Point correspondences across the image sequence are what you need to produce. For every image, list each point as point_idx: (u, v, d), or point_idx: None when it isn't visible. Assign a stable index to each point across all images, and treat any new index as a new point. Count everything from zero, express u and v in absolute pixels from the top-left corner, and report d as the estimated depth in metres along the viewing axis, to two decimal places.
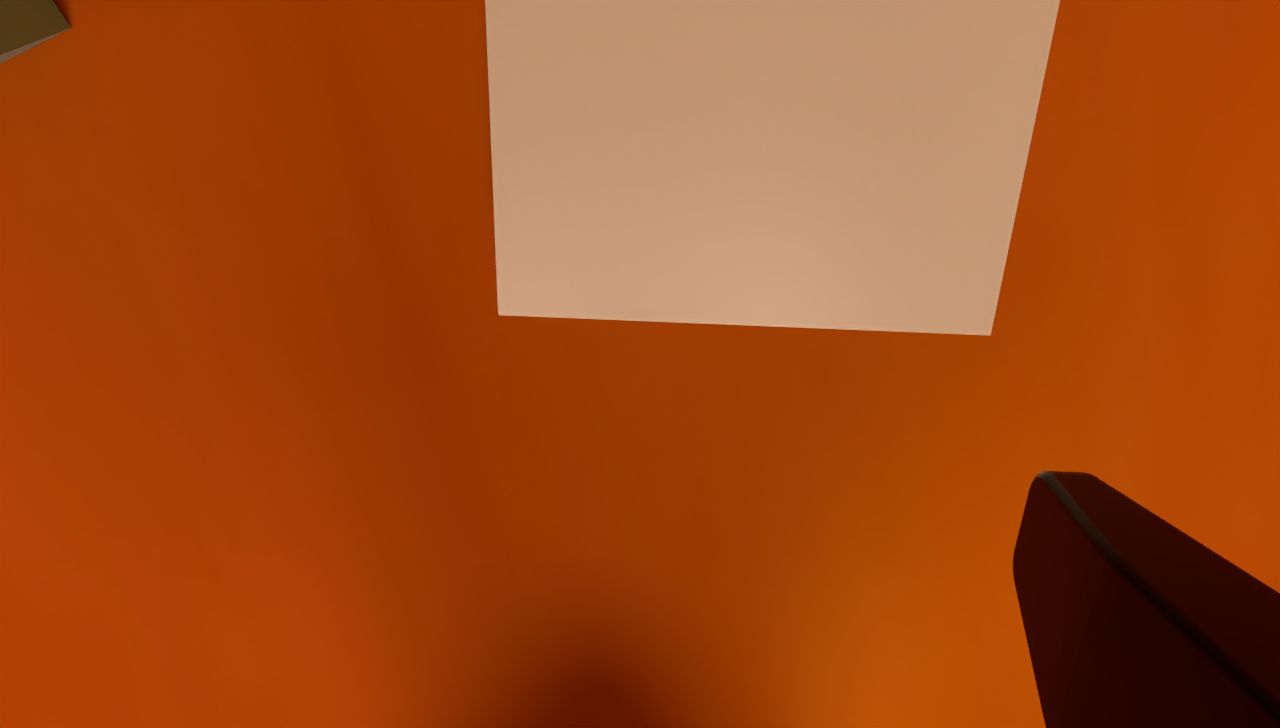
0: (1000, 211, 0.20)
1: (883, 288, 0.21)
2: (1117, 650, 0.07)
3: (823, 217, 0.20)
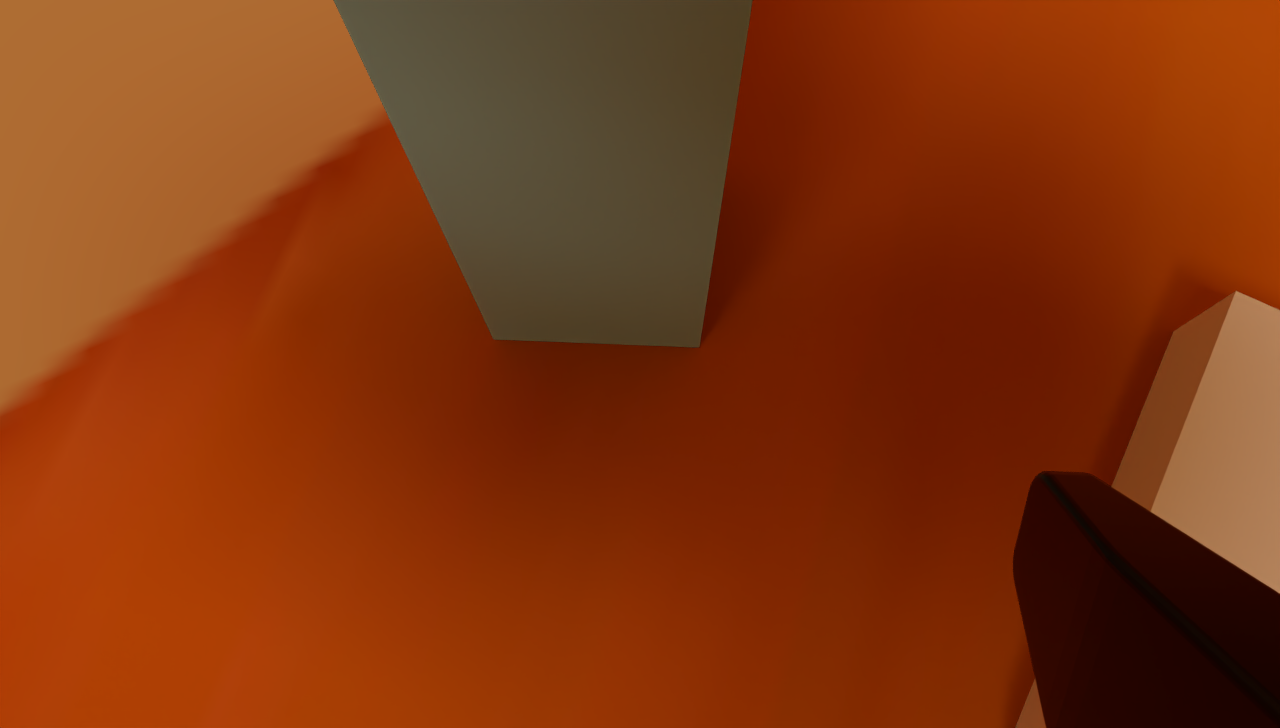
0: None
1: None
2: (1117, 650, 0.07)
3: None
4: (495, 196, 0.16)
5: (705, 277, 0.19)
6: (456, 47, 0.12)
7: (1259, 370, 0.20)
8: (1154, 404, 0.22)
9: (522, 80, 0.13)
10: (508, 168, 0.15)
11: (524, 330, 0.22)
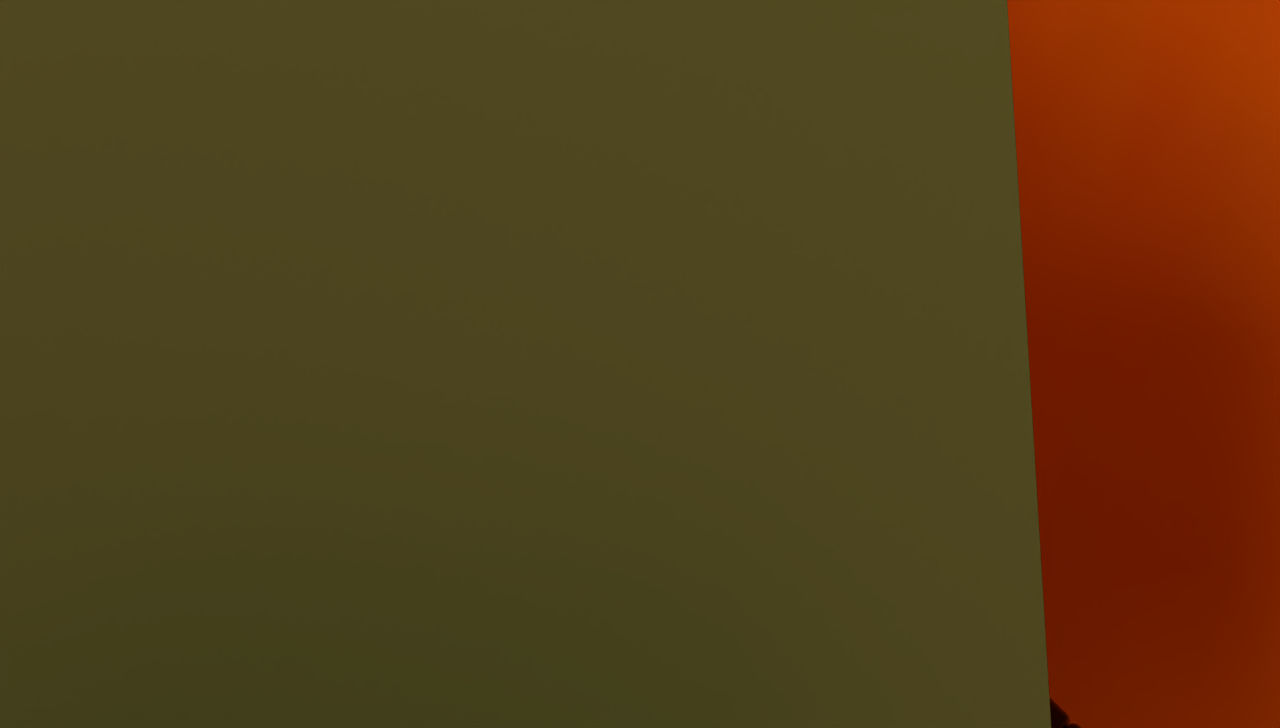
0: None
1: None
2: None
3: None
4: None
5: None
6: None
7: None
8: None
9: None
10: None
11: None
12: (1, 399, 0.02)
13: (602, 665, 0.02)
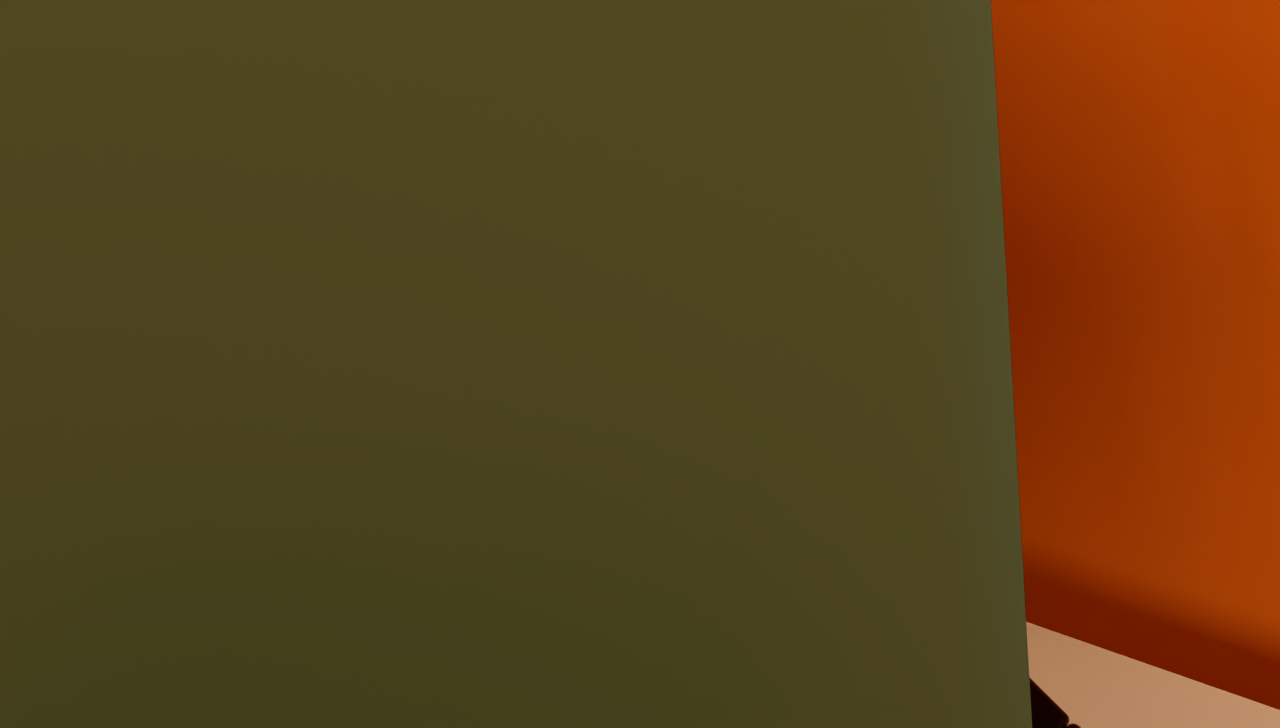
0: None
1: None
2: None
3: None
4: None
5: None
6: None
7: None
8: None
9: None
10: None
11: None
12: None
13: (583, 639, 0.02)
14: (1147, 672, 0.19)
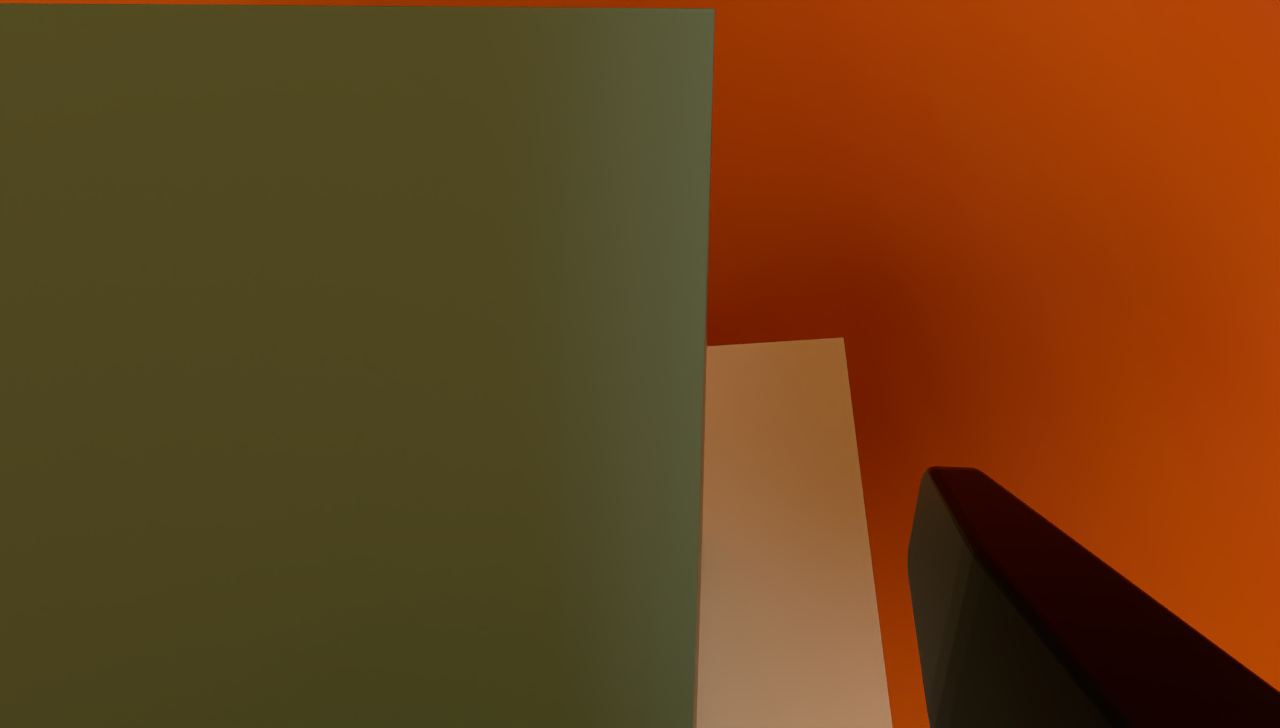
0: None
1: None
2: (982, 644, 0.07)
3: None
4: None
5: None
6: None
7: None
8: None
9: None
10: None
11: None
12: (57, 407, 0.04)
13: (419, 566, 0.04)
14: None
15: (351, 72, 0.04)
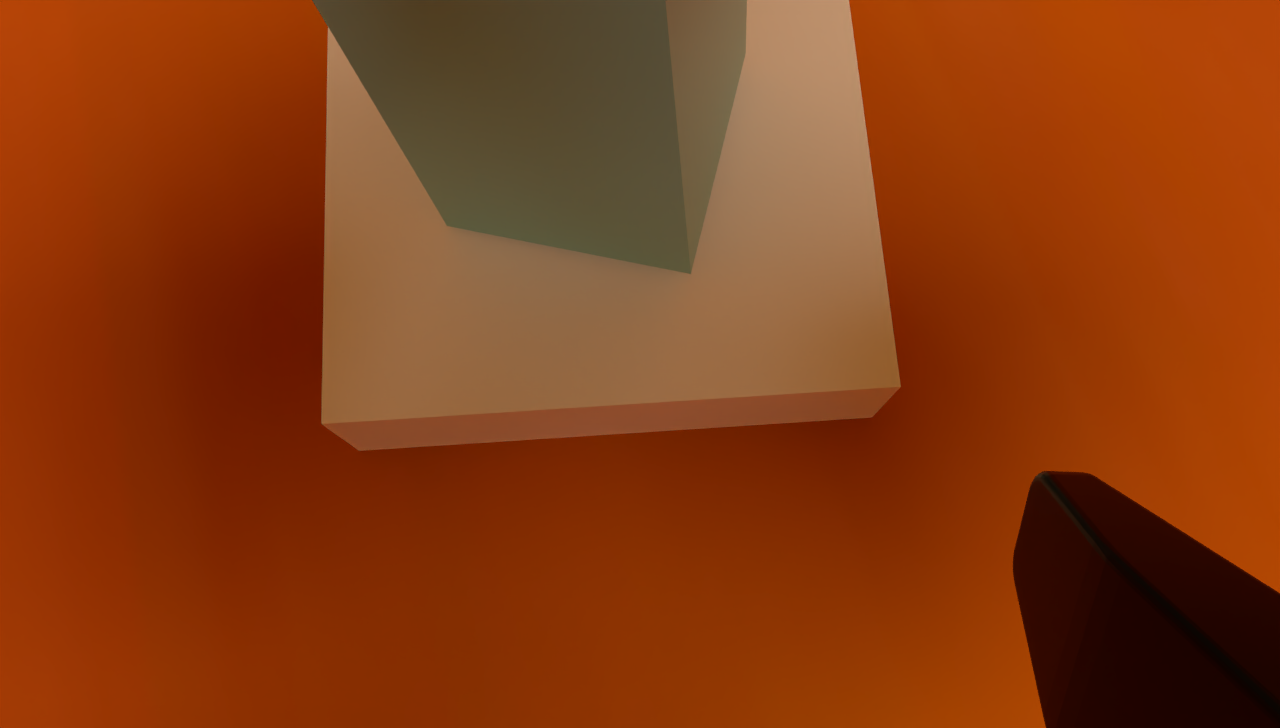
0: (865, 245, 0.19)
1: (764, 343, 0.18)
2: (1117, 650, 0.07)
3: None
4: None
5: (673, 153, 0.14)
6: None
7: None
8: None
9: None
10: None
11: (477, 216, 0.18)
12: None
13: None
14: None
15: None
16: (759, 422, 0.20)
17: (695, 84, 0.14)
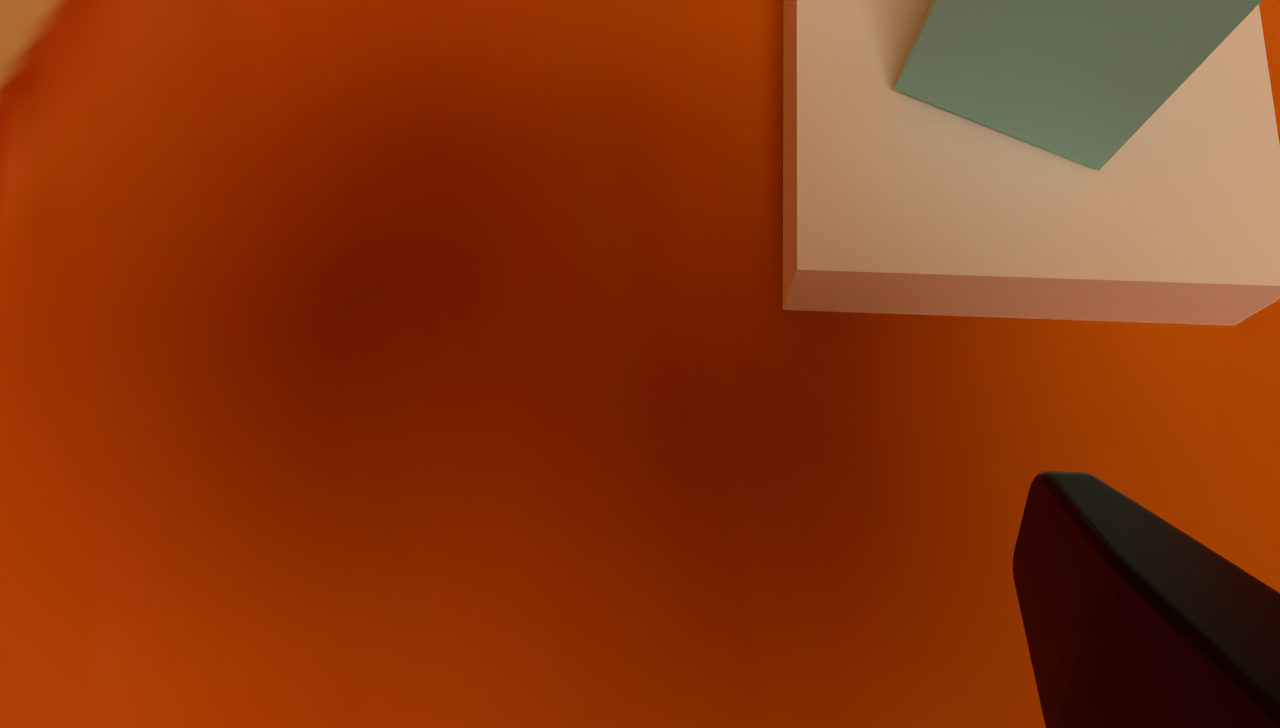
0: (1268, 165, 0.22)
1: (1179, 239, 0.21)
2: (1117, 650, 0.07)
3: (1106, 172, 0.22)
4: None
5: (1209, 48, 0.18)
6: None
7: None
8: None
9: None
10: None
11: (937, 84, 0.21)
12: None
13: None
14: None
15: None
16: (1138, 318, 0.23)
17: None
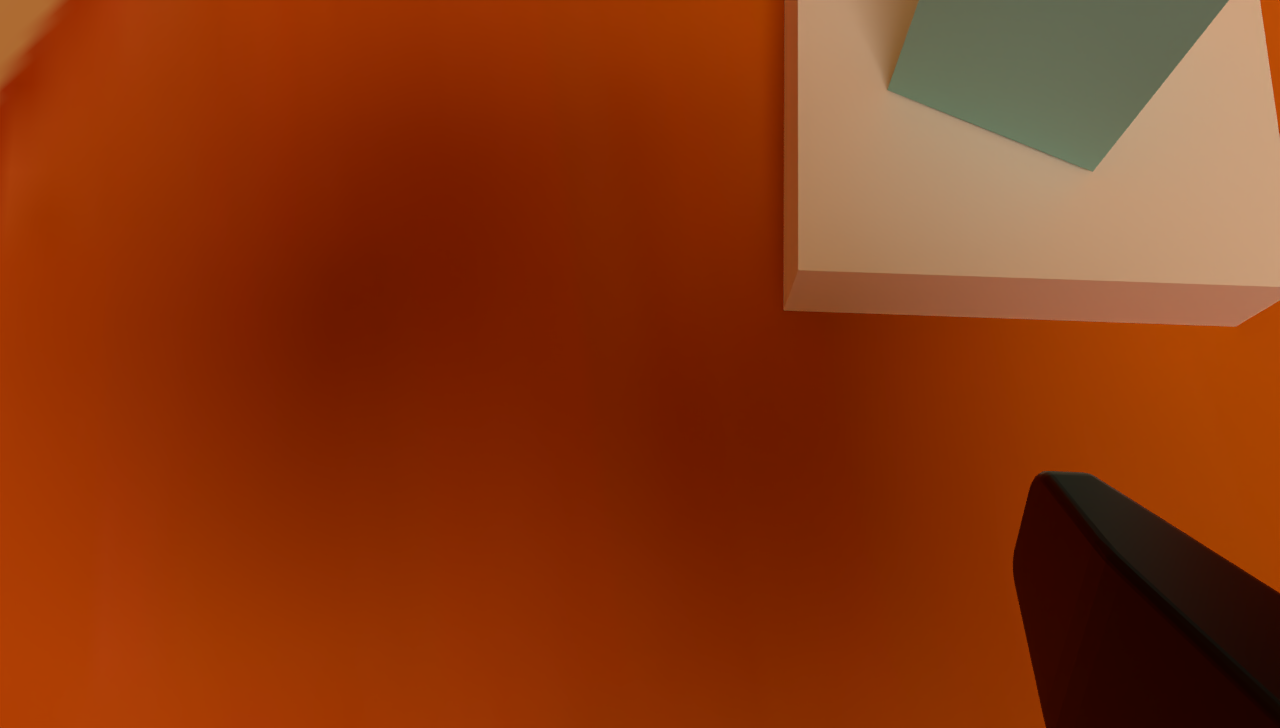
0: (1269, 166, 0.22)
1: (1180, 240, 0.21)
2: (1117, 650, 0.07)
3: (1107, 173, 0.22)
4: None
5: (1184, 48, 0.18)
6: None
7: None
8: None
9: None
10: None
11: (927, 85, 0.22)
12: None
13: None
14: None
15: None
16: (1140, 319, 0.23)
17: None
